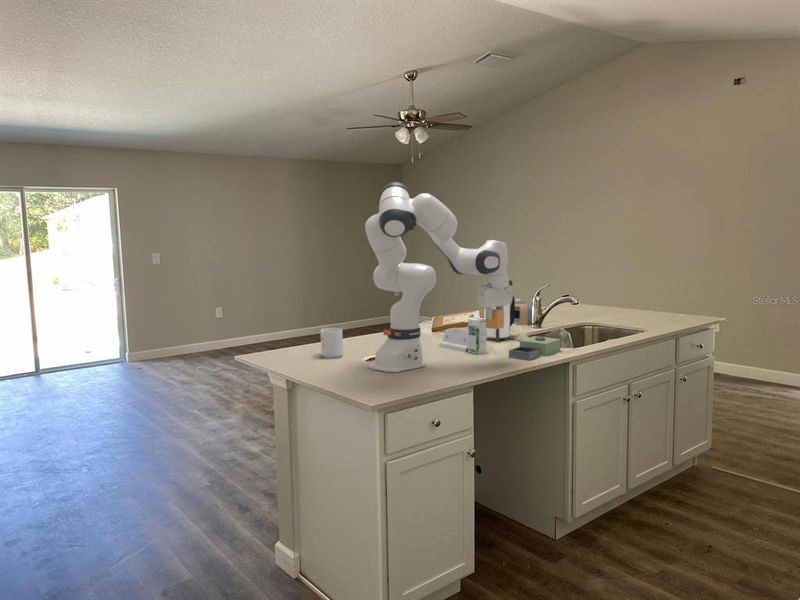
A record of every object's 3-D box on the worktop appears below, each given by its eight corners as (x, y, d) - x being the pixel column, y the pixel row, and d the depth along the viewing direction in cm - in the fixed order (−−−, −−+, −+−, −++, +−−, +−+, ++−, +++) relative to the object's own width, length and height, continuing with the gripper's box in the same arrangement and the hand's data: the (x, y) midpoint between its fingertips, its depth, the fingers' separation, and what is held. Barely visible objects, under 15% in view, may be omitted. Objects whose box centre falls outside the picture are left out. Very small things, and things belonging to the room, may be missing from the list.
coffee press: (515, 342, 273) (516, 276, 270) (479, 342, 276) (480, 276, 272) (514, 335, 290) (515, 273, 286) (480, 335, 293) (481, 273, 289)
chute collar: (529, 360, 237) (529, 353, 237) (508, 357, 243) (508, 350, 243) (540, 356, 244) (540, 349, 244) (520, 353, 250) (520, 346, 250)
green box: (545, 356, 245) (546, 341, 244) (519, 352, 253) (519, 338, 252) (560, 350, 255) (560, 336, 254) (534, 347, 262) (534, 333, 262)
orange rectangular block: (497, 329, 229) (497, 310, 228) (485, 327, 232) (486, 309, 232) (503, 327, 233) (504, 309, 232) (492, 326, 236) (492, 308, 235)
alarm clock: (494, 323, 327) (494, 301, 325) (512, 319, 342) (513, 297, 340) (526, 327, 314) (526, 304, 313) (543, 322, 330) (544, 300, 328)
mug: (347, 356, 249) (346, 329, 248) (328, 359, 244) (327, 332, 242) (331, 351, 258) (331, 326, 257) (313, 354, 253) (312, 328, 252)
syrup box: (467, 352, 254) (467, 318, 252) (477, 350, 258) (477, 316, 256) (477, 354, 250) (477, 319, 248) (487, 352, 253) (487, 318, 252)
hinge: (438, 346, 267) (443, 324, 268) (445, 348, 270) (450, 327, 271) (465, 352, 254) (471, 329, 255) (472, 354, 257) (478, 331, 258)
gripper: (488, 284, 221) (487, 322, 222) (515, 281, 236) (515, 316, 238) (473, 283, 225) (473, 320, 226) (501, 280, 241) (501, 314, 242)
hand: (494, 318), depth 232 cm, fingers closed on orange rectangular block, 5 cm apart
